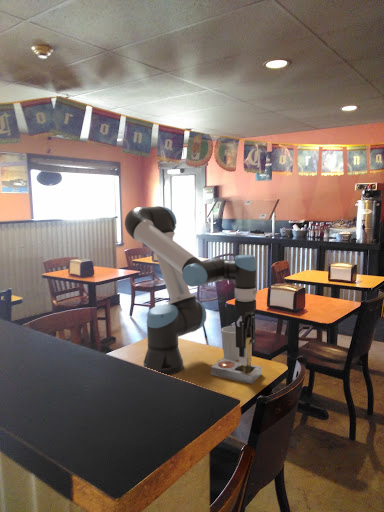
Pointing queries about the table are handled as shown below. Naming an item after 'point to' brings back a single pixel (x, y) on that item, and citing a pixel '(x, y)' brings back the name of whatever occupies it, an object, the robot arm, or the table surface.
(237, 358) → the cup
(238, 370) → the plate with copper dome
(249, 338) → the brass cylinder with tabs
